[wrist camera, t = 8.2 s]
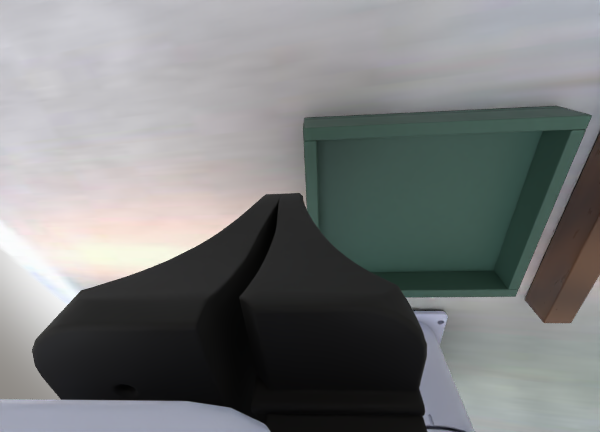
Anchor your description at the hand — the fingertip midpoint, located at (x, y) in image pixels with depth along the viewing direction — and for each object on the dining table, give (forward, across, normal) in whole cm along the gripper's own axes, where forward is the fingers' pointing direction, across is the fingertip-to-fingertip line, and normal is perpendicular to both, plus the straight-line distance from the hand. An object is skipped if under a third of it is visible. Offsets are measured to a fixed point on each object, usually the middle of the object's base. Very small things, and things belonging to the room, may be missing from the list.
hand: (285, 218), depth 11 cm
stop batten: (+9, -19, +5) cm, 21 cm away
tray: (+9, -8, +5) cm, 13 cm away
